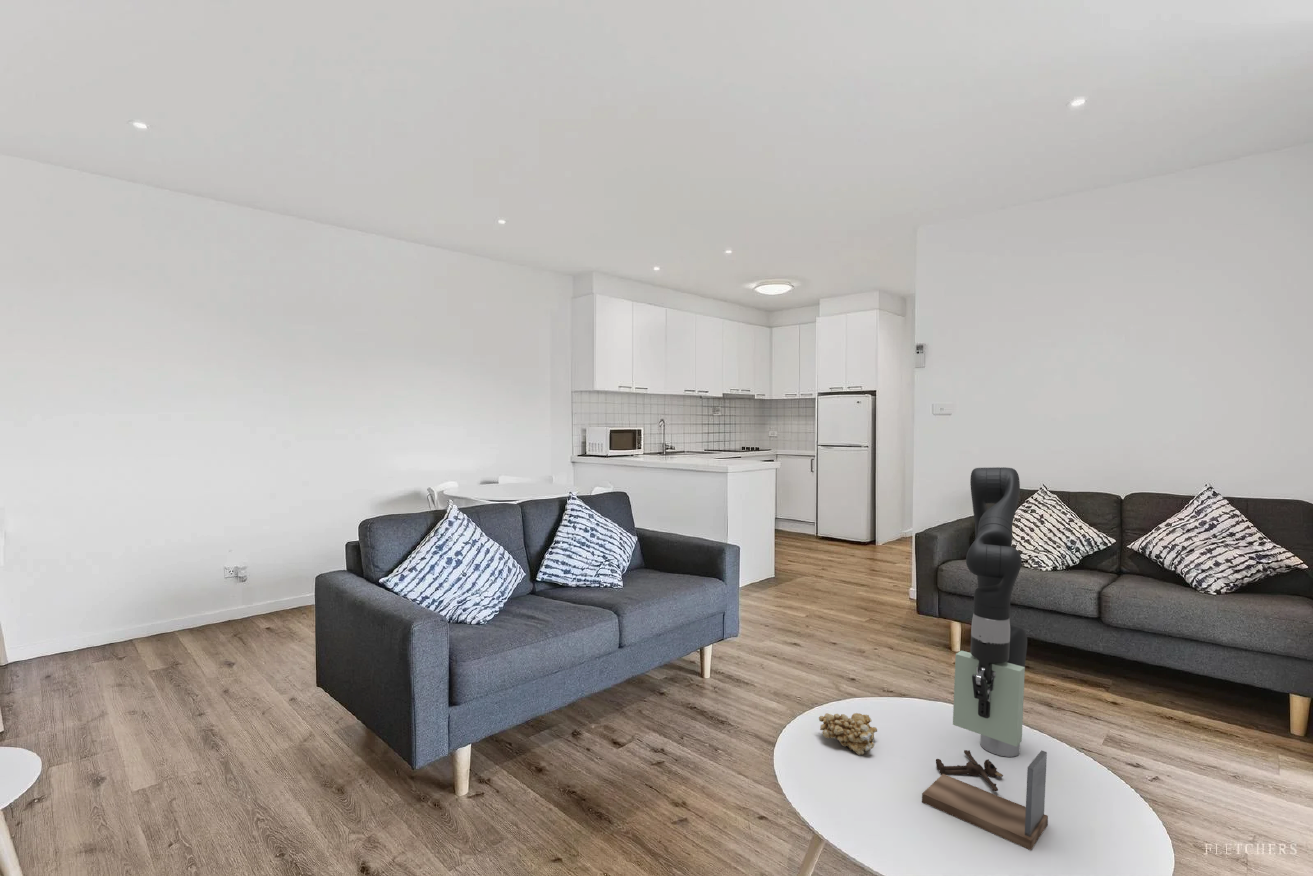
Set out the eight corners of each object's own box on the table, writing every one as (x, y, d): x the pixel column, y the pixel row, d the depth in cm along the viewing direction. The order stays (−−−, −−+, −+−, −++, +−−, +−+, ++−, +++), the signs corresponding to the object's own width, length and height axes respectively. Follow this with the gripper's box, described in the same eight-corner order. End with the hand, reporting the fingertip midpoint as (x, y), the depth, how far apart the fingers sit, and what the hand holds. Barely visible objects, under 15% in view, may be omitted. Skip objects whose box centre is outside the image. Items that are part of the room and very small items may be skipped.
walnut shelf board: (942, 782, 153) (943, 773, 153) (1047, 825, 137) (1047, 815, 137) (921, 802, 144) (922, 793, 144) (1031, 850, 129) (1031, 840, 129)
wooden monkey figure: (925, 742, 167) (983, 740, 165) (926, 758, 167) (984, 757, 166) (951, 781, 149) (1016, 779, 148) (952, 799, 149) (1017, 798, 148)
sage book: (958, 720, 146) (961, 650, 146) (1021, 741, 137) (1024, 667, 137) (952, 724, 144) (955, 654, 143) (1016, 746, 135) (1019, 671, 134)
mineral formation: (872, 761, 162) (812, 744, 168) (876, 746, 174) (819, 730, 180) (876, 728, 162) (816, 712, 168) (879, 715, 175) (823, 701, 181)
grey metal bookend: (1038, 814, 138) (1041, 750, 137) (1044, 816, 137) (1046, 752, 137) (1024, 835, 131) (1027, 767, 130) (1030, 837, 130) (1033, 769, 130)
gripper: (983, 625, 148) (980, 699, 148) (960, 638, 138) (957, 718, 138) (1019, 633, 142) (1016, 710, 143) (998, 648, 132) (994, 730, 133)
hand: (987, 713), depth 140 cm, fingers closed on sage book, 3 cm apart
